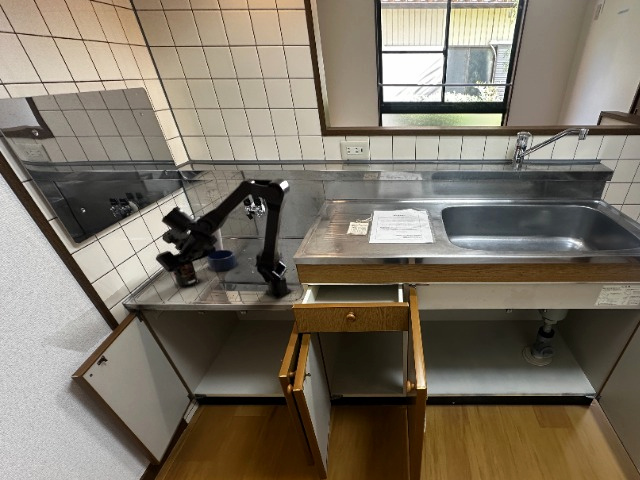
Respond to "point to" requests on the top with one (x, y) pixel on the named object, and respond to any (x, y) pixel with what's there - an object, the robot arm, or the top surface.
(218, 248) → the coffee cup
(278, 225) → the robot arm
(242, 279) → the top surface
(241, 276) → the top surface
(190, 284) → the supplement container
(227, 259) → the blue rimmed bowl
